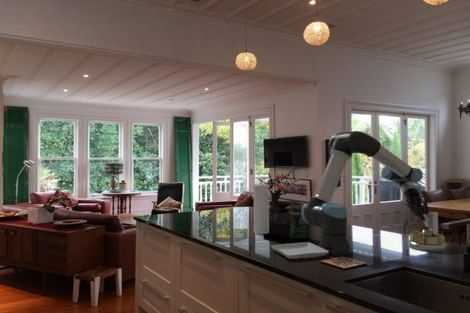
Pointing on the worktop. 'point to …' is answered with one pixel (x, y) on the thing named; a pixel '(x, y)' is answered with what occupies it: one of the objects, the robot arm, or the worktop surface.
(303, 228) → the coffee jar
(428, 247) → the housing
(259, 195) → the cylinder container
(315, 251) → the salad plate
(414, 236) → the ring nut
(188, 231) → the worktop surface
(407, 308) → the worktop surface
